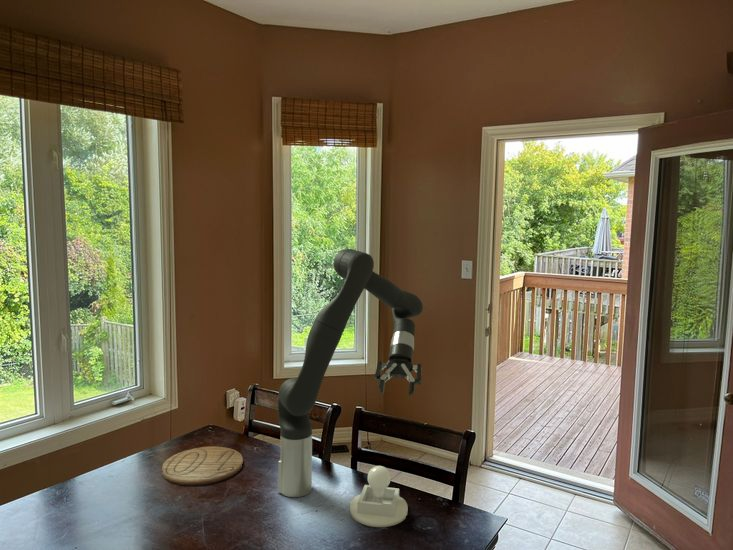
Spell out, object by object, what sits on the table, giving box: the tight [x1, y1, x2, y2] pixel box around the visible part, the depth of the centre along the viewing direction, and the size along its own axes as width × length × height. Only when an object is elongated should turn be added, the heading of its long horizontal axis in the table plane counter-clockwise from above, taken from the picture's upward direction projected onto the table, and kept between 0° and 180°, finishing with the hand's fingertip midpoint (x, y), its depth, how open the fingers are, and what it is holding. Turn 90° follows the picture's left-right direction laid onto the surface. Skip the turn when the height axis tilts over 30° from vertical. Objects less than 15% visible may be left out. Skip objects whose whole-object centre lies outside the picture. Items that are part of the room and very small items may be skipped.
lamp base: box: [349, 484, 409, 528], centre depth 145 cm, size 16×16×4 cm
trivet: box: [161, 446, 244, 487], centre depth 170 cm, size 25×25×2 cm
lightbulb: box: [367, 465, 391, 503], centre depth 145 cm, size 6×6×11 cm
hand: (396, 394), depth 159 cm, fingers open, 8 cm apart
